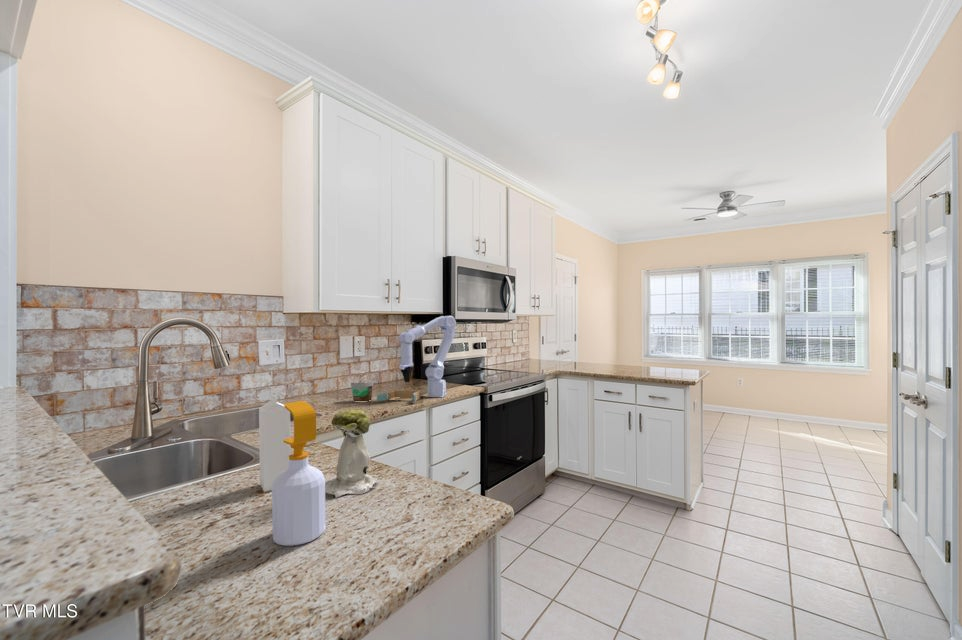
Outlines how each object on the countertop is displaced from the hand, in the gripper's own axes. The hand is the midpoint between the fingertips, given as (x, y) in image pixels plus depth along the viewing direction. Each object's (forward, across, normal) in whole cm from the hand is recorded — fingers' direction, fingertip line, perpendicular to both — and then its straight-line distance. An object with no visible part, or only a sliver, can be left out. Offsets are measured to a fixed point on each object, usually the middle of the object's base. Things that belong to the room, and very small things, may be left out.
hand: (407, 382), depth 211 cm
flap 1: (+8, +7, -11) cm, 15 cm away
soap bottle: (+9, +131, +28) cm, 134 cm away
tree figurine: (+9, +109, +26) cm, 113 cm away
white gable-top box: (+9, +111, +7) cm, 111 cm away
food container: (+9, +8, -22) cm, 26 cm away
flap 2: (+8, +8, +6) cm, 13 cm away
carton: (+9, 0, -2) cm, 9 cm away
